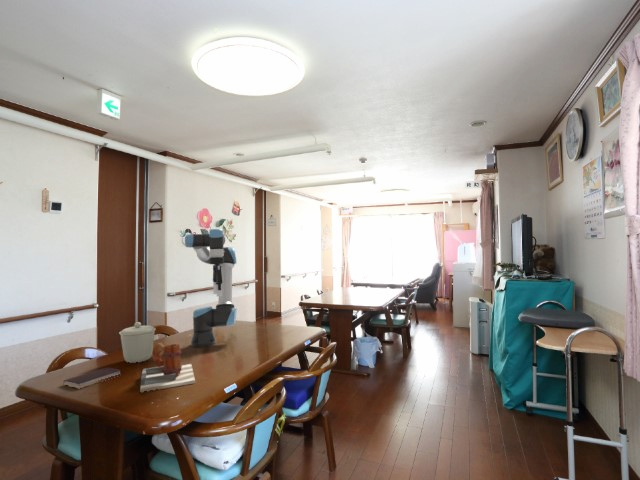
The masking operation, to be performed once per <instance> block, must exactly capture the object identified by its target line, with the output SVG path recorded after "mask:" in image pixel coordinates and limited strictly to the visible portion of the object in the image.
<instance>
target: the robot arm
mask: <svg viewBox="0 0 640 480" xmlns="http://www.w3.org/2000/svg"><path fill="white" fill-rule="evenodd" d="M225 243H226V237H225V236H224V230H223V229H221V228H212V229H209V232H208V233H200V234H199V233H195V234H193V233H191V234H186V235H185V236H184V244H185V247H186V248H192V249H193V251H194V252H195V253H196V257H197V258H198V260H199V261H200V262H202V263H204V264H207V265H212V282H213V283H212V284H213V286H212V287H213V295H216V297H218V303H217V304H216V305H215V308H213V306H204V307H200V308H199V307H198V308H196V309H195V310H193V313H192V319H193V320H192V321H193V323H192V326H193V334H192V337H191V340H190V346H191V347H192V348H207V347H210V346H213V345H216V344H217V342H216V341H217V340H216V336H215V333H214V331H213V329H214V328H220V327H223V328H224V327H232V326H234V325H235V323H236V320H237V310H238V309H237V307H236V306H235V304H234V302H233V268H235V265H236V264H237V256H236V250H235V248H234V247H231V246H230V247H229V246H226V247H224V245H225Z"/></svg>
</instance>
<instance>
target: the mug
mask: <svg viewBox="0 0 640 480" xmlns="http://www.w3.org/2000/svg"><path fill="white" fill-rule="evenodd" d="M161 352H163V353H162V356H161ZM181 354H182V350H181V349H180V344H179V343H172V344H166V345H165V344H163V342H157V343H155V345H154V346H153V351H152V359H153V362H154V364H155V365H156V367H161V366H164V367H163V369H162V372H163V373H164V375H168V374H174V373H175V376H177V375H179V374H180V371H181V368H182V366H181ZM162 357H163V358H162Z"/></svg>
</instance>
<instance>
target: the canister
mask: <svg viewBox="0 0 640 480" xmlns="http://www.w3.org/2000/svg"><path fill="white" fill-rule="evenodd" d="M155 331H156V327H153V325H142V323H141V322H139V321H136V322H135V323H134V324H133V326H129V327H126V328H124V329H122V330H121V331H119V332H118V334H119V335H120V342H121V348H122V354H123V359H124V360H125V362H126V363H128V362H129V364H136V362H138V363H142V361H143V362H146V361H148V360H150V359H151V357H153V349H154V341H155V340H154V339H155Z"/></svg>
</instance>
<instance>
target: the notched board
mask: <svg viewBox="0 0 640 480" xmlns="http://www.w3.org/2000/svg"><path fill="white" fill-rule="evenodd" d="M180 365H181V364H180ZM181 366H182V368H181V371H180V374H179V375H177V376H175V373H174V374H168V375H164V373H163V372H162V369H163V367H164V365H163V366H161V367H158V366H154V367H148V368H143V369H142V372H141V377H140V389H139V392H141V393H145V392H144V391H147V392H151V391H150V390H153V391H157V390H156V389H158V390H163V389H168V388H169V389H170V388H174V387H179V386H187V385H191V384H196V379H195V374H194V370H193V366H192V363H188V364H182V365H181Z"/></svg>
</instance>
